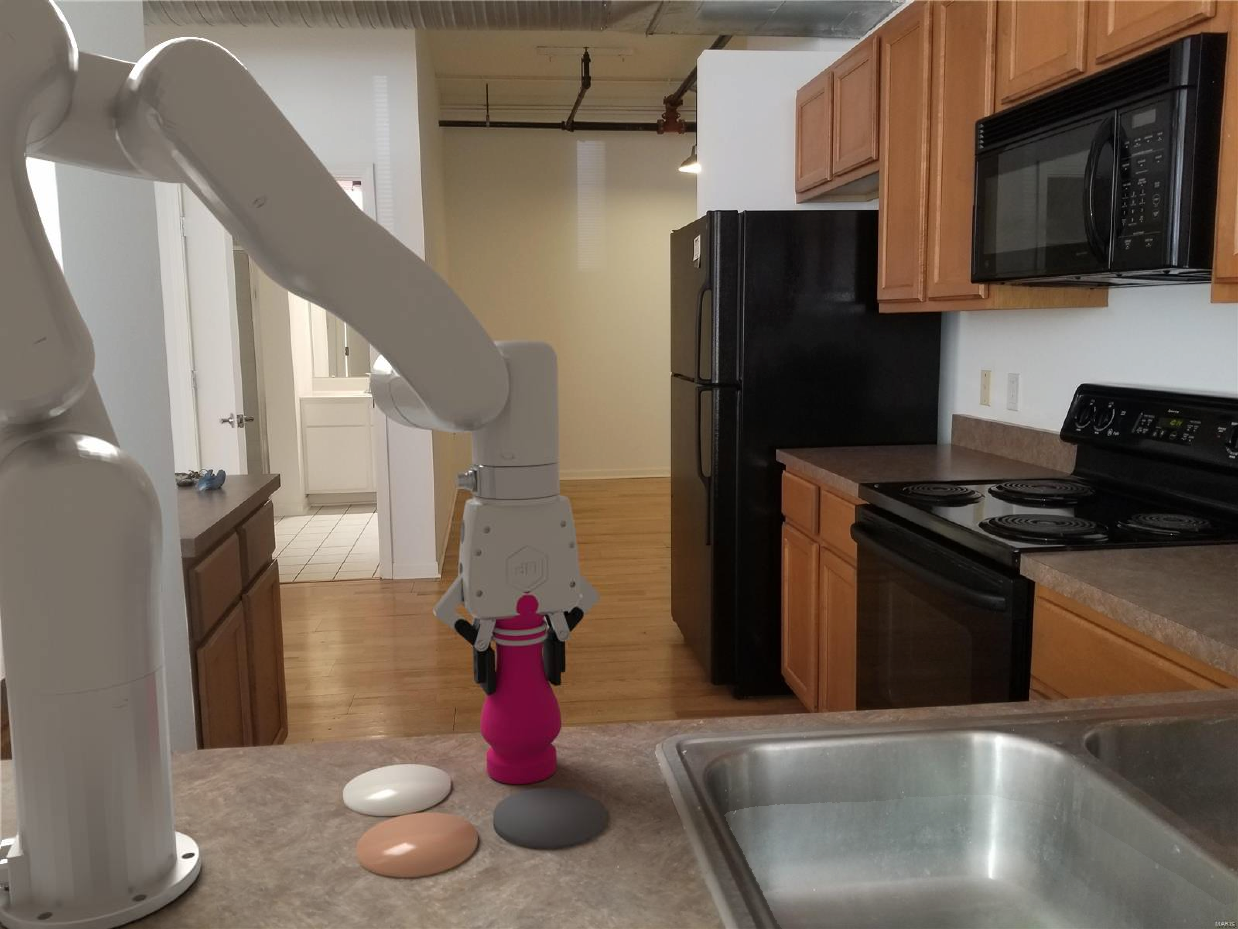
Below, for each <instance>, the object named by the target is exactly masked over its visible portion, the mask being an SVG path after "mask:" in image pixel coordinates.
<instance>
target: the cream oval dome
mask: <svg viewBox="0 0 1238 929" xmlns="http://www.w3.org/2000/svg"><path fill="white" fill-rule="evenodd" d="M451 782H452V781H451V778H450V775H449V774H447V773H446V772H445V771H444V770H442V769H440V768H438V767H434V766H432V765H431V766H430V765H426V764H417V763H416V764H413V763H412V764H411V763H408V764H407V763H406V764H394V765H388V766H387V765H386V766H382V767H378V768H375V769H371V770H368V771H366V772H364V773H362V774H361V773H360V774H359V775H357V776H355V777H354V778H352V779H351V780H350V781H349V782H348V783H347V784H346V785H345V786H344V787H343V791H342V800H343V801H342V802H343V804H345V806H346V807H347V808H349V809H350V810H351V811H353V812H355V813H359V814H363V815H366V816H374V817H376V816H377V817H393V816H394V817H395V816H396V817H397V816H403V815H408V814H414V813H419V812H421V811H424V810H426V809H429V808H431V807H433V806H435V805H437V804H439V803H440V802H442V801H443V800H444V799H445V798H447V796H448V795H449V794H450V792H451V789H452V783H451Z"/></svg>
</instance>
